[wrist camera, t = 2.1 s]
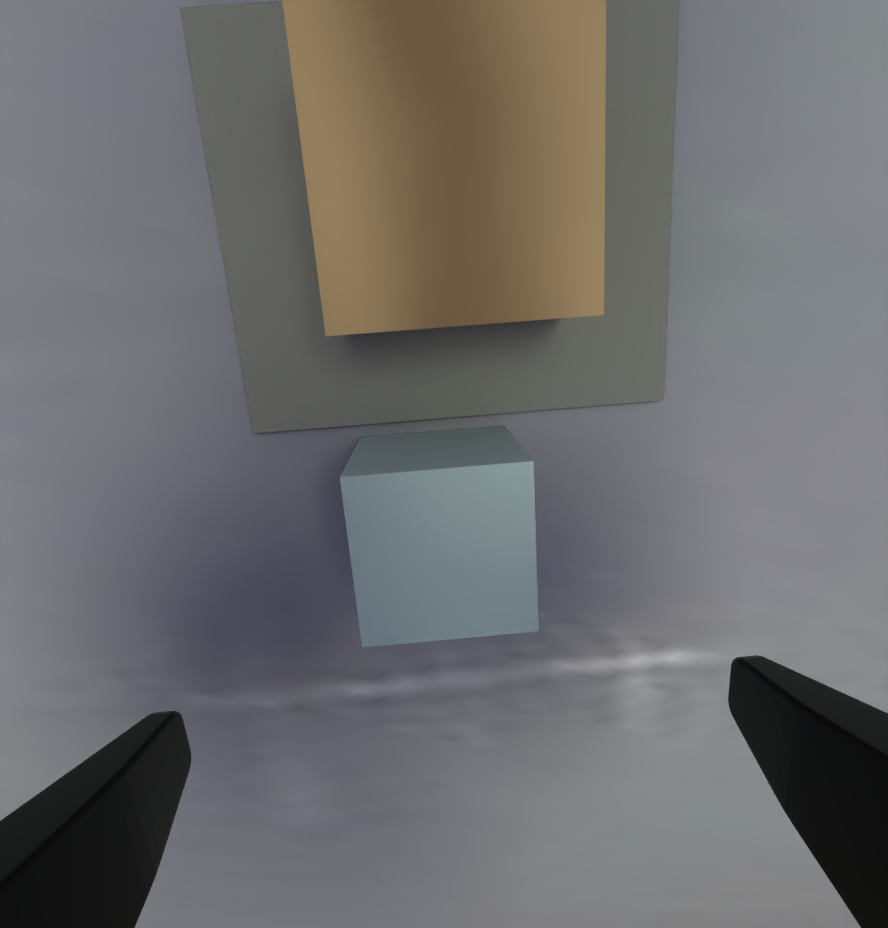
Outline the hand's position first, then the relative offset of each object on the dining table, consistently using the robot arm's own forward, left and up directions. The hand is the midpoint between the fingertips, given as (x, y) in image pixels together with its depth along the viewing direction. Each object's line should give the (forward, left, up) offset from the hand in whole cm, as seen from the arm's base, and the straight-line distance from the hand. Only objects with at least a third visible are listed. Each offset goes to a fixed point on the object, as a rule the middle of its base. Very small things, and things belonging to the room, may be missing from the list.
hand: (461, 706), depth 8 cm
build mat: (-1, -9, -11) cm, 14 cm away
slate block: (0, 0, -11) cm, 11 cm away
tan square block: (-1, -9, -10) cm, 14 cm away
